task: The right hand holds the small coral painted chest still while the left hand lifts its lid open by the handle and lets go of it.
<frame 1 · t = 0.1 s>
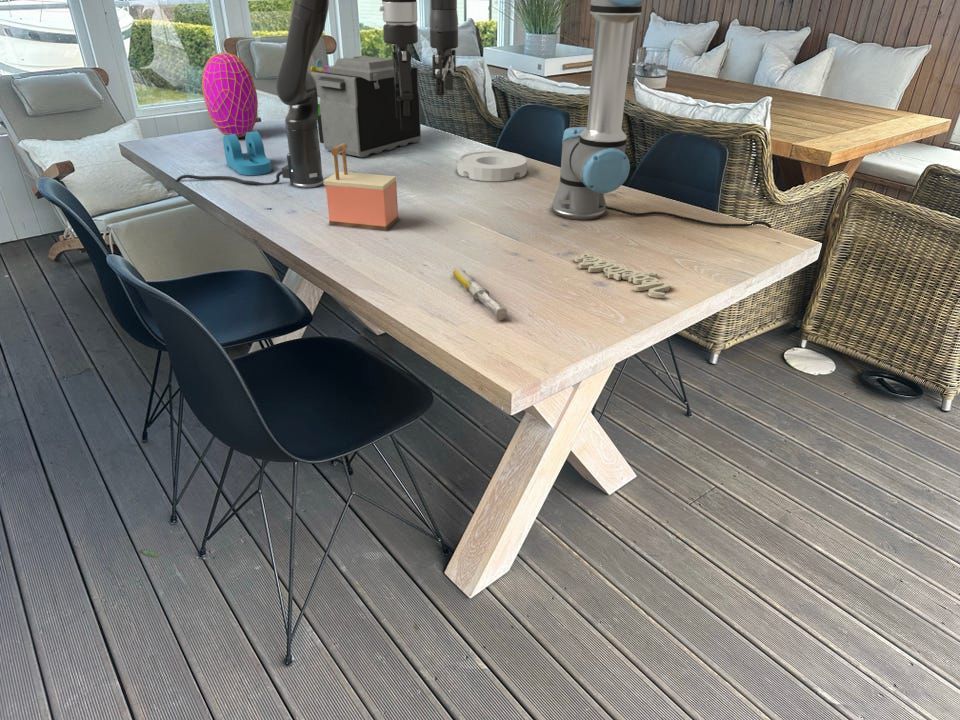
left hand: (444, 92, 191), 29 cm above the table, tool pointing down, fingers open, 8 cm apart
right hand: (404, 124, 161), 28 cm above the table, tool pointing down, fingers open, 13 cm apart
electronic device: (371, 146, 258), on the table
camera mount: (251, 168, 229), on the table
lid: (359, 165, 177), point 15 cm above the table, hinge at 0.0°
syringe: (478, 297, 145), on the table
decorative sign: (623, 275, 156), on the table
decorative egg: (237, 137, 268), on the table
ashtray: (491, 171, 229), on the table
chest: (364, 222, 185), on the table
potted flower: (325, 121, 295), on the table
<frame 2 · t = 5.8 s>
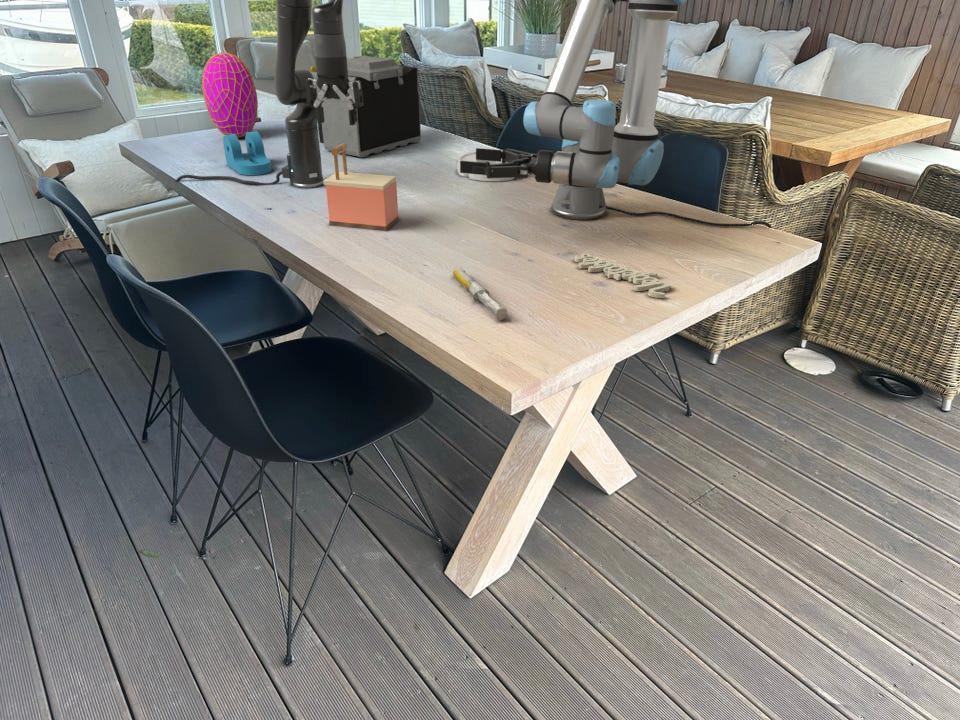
left hand: (337, 123, 173), 25 cm above the table, tool pointing down, fingers open, 8 cm apart
right hand: (468, 160, 170), 19 cm above the table, tool horizontal, fingers open, 13 cm apart
nothing on the table moved.
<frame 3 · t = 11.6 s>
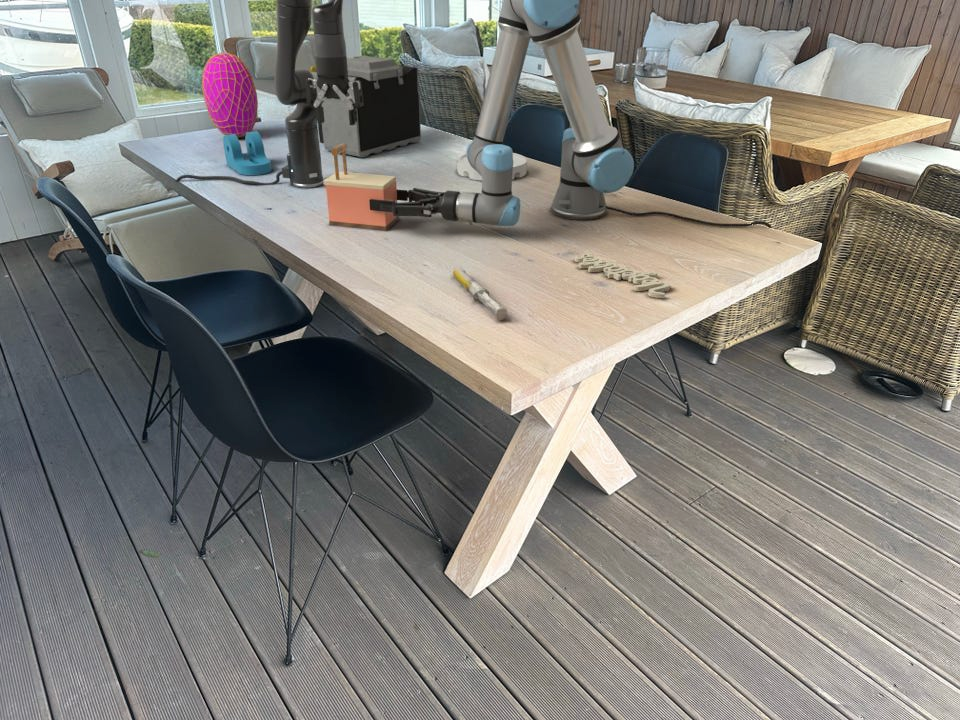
left hand: (337, 123, 173), 25 cm above the table, tool pointing down, fingers open, 8 cm apart
right hand: (377, 198, 180), 7 cm above the table, tool horizontal, fingers closed on chest, 9 cm apart
chest: (364, 222, 185), on the table, touching right hand
everything else where it was.
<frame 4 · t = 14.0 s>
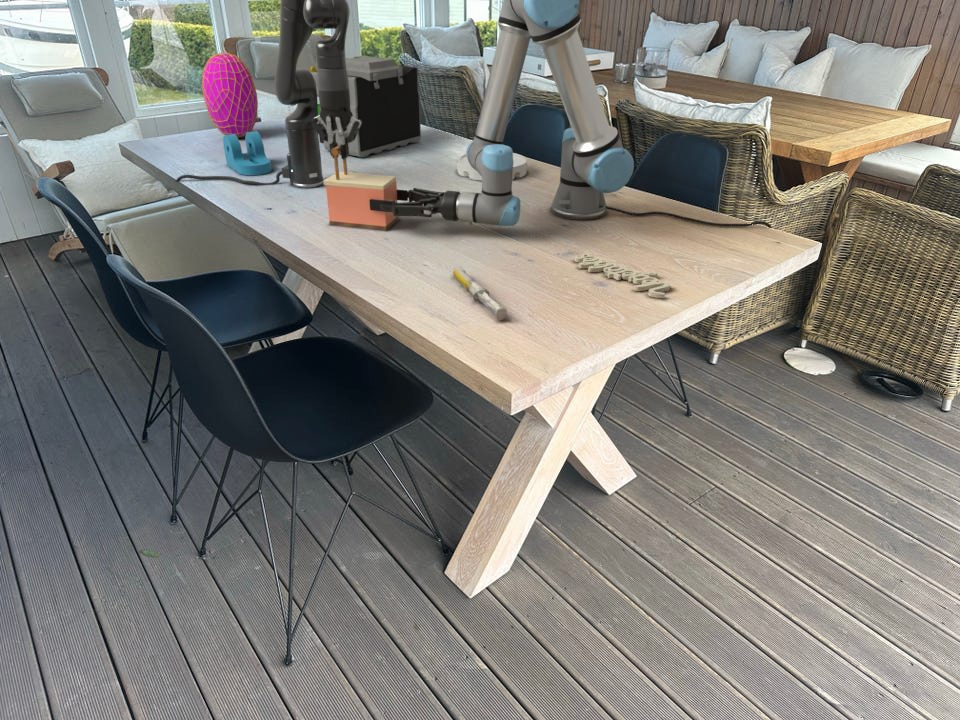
left hand: (340, 157, 177), 17 cm above the table, tool pointing down, fingers closed on lid, 2 cm apart
right hand: (377, 199, 180), 7 cm above the table, tool horizontal, fingers closed on chest, 9 cm apart
lid: (359, 165, 177), point 15 cm above the table, hinge at -0.1°, touching left hand
chest: (364, 222, 185), on the table, touching right hand
everything else where it was.
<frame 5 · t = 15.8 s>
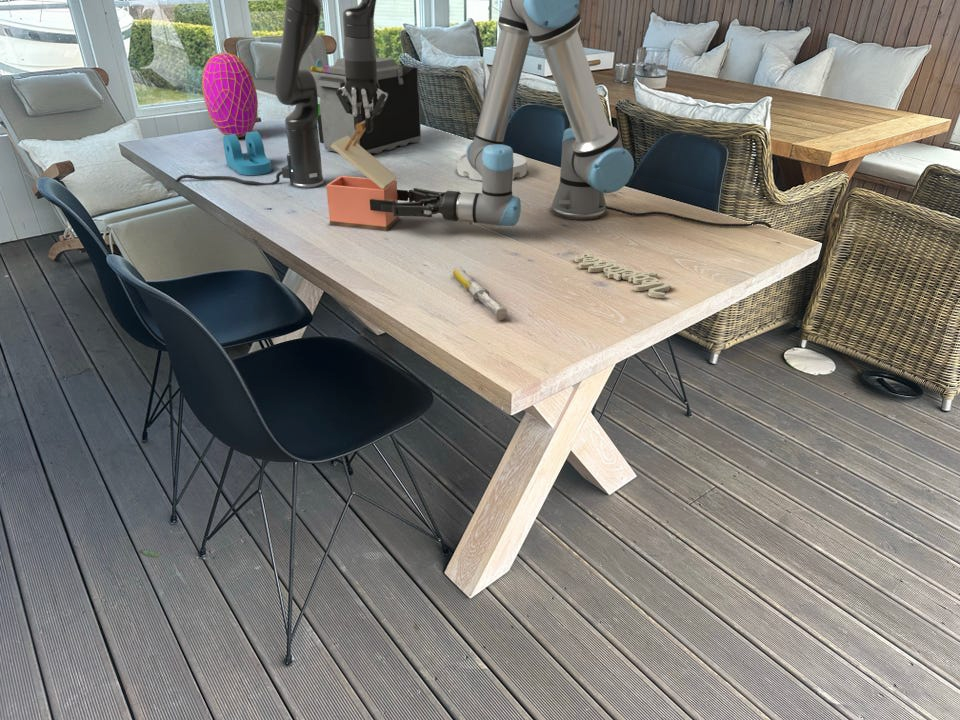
left hand: (363, 131, 172), 24 cm above the table, tool pointing down, fingers closed on lid, 2 cm apart
right hand: (377, 199, 180), 7 cm above the table, tool horizontal, fingers closed on chest, 9 cm apart
lid: (372, 150, 174), point 19 cm above the table, hinge at 36.3°, touching left hand
chest: (364, 222, 185), on the table, touching right hand
everything else where it was.
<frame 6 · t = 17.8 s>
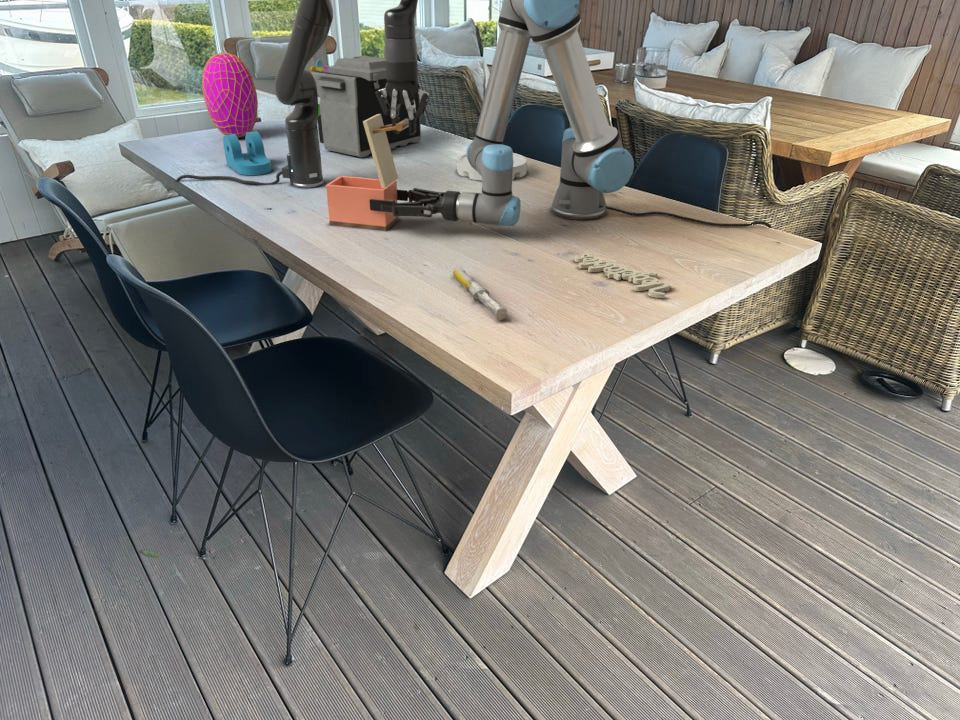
left hand: (404, 133, 170), 24 cm above the table, tool pointing down, fingers open, 3 cm apart
right hand: (377, 199, 180), 7 cm above the table, tool horizontal, fingers closed on chest, 9 cm apart
lid: (395, 148, 172), point 20 cm above the table, hinge at 76.3°
chest: (364, 222, 185), on the table, touching right hand
everything else where it was.
when the right hand's fingers open (7 cm above the table, at t = 21.9 s): chest stays where it is, on the table.
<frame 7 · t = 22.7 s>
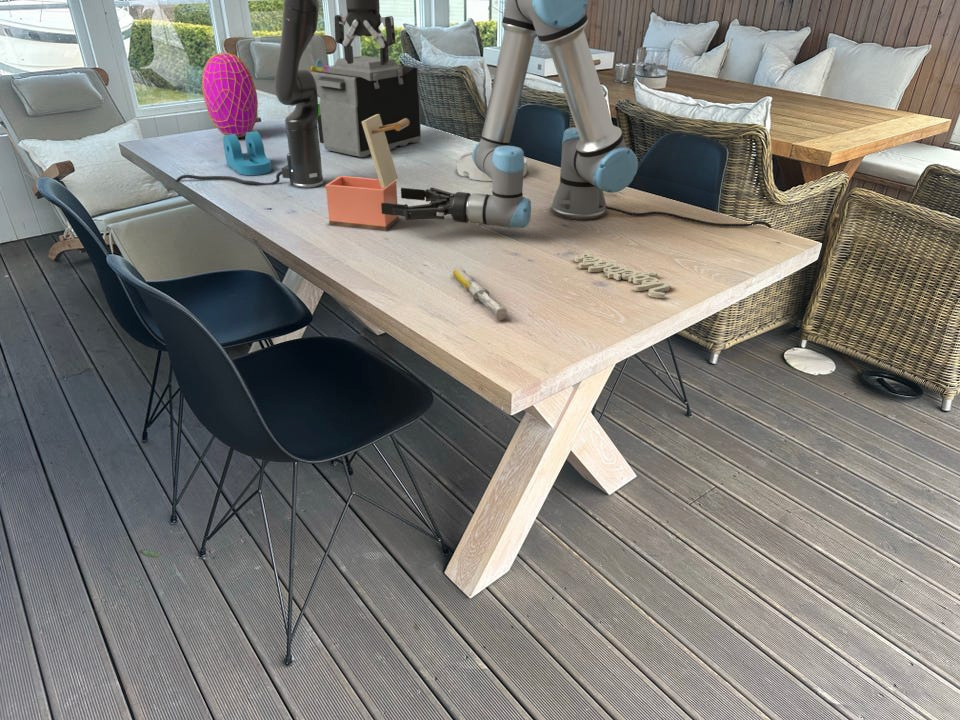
left hand: (366, 64, 164), 40 cm above the table, tool pointing down, fingers open, 8 cm apart
right hand: (391, 200, 180), 7 cm above the table, tool horizontal, fingers open, 13 cm apart
lid: (394, 148, 172), point 20 cm above the table, hinge at 75.3°
chest: (364, 222, 185), on the table
everything else where it was.
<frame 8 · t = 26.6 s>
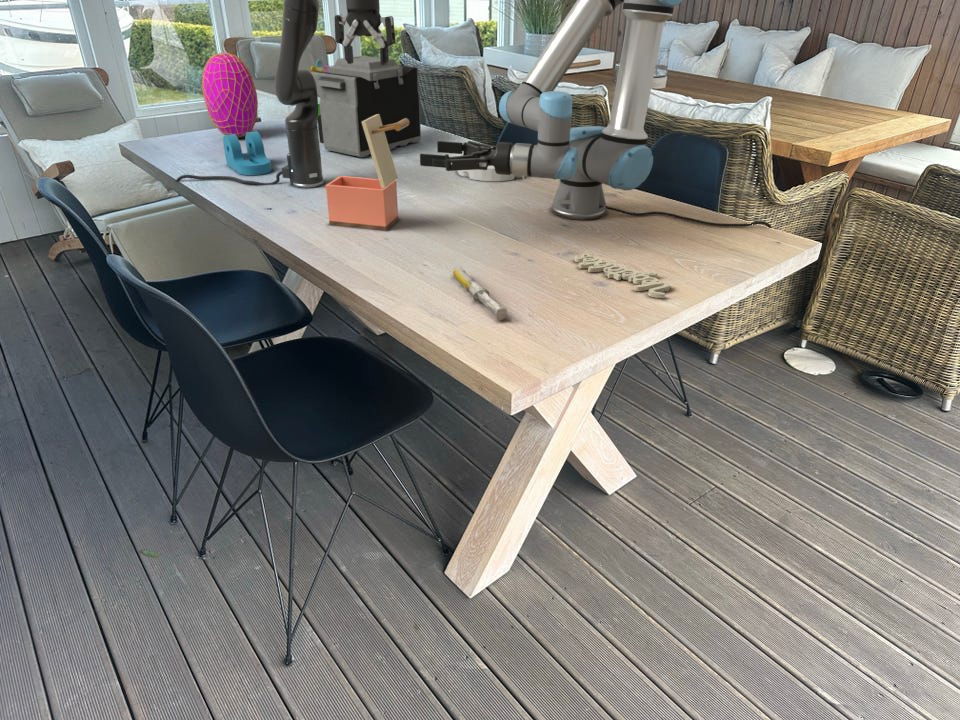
left hand: (366, 64, 164), 40 cm above the table, tool pointing down, fingers open, 8 cm apart
right hand: (429, 152, 171), 20 cm above the table, tool horizontal, fingers open, 13 cm apart
nothing on the table moved.
at the end: lid at +75° (first picture: +0°); the left hand is holding nothing; the right hand is holding nothing; chest tilted 0°; chest never tilted more than 1° during the clip; chest moved 0.0 cm from its start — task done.
